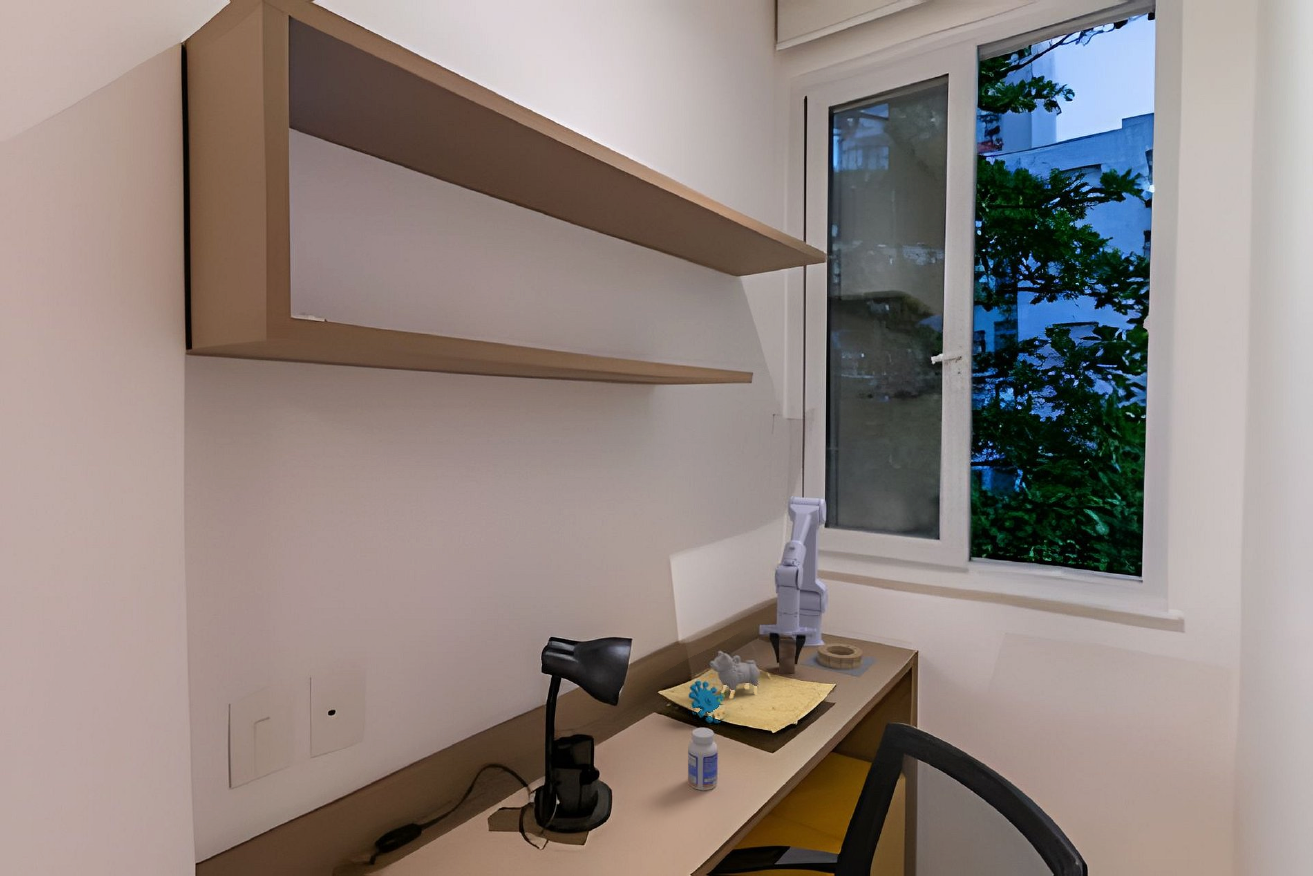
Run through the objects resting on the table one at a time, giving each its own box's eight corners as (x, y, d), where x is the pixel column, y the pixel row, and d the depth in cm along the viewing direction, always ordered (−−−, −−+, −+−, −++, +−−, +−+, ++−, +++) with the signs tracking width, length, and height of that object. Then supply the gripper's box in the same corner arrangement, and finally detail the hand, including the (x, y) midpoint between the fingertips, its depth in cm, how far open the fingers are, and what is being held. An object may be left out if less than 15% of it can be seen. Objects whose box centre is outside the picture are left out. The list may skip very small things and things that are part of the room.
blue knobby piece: (706, 724, 156) (685, 681, 162) (689, 737, 159) (669, 695, 164) (738, 715, 164) (716, 675, 169) (721, 729, 167) (701, 688, 172)
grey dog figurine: (705, 694, 177) (705, 650, 176) (750, 686, 182) (751, 644, 181) (715, 702, 172) (716, 658, 171) (762, 693, 177) (762, 650, 177)
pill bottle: (719, 778, 137) (719, 727, 137) (715, 793, 132) (716, 740, 131) (690, 774, 138) (691, 724, 138) (685, 789, 133) (686, 737, 133)
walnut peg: (778, 673, 190) (779, 643, 190) (779, 668, 194) (780, 638, 194) (794, 675, 189) (795, 644, 189) (794, 669, 193) (795, 639, 193)
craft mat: (822, 648, 210) (822, 647, 210) (878, 660, 201) (878, 658, 201) (800, 665, 196) (800, 663, 196) (859, 678, 188) (859, 676, 188)
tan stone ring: (813, 654, 204) (813, 643, 204) (853, 653, 205) (854, 643, 205) (825, 669, 193) (825, 658, 192) (868, 668, 193) (868, 657, 193)
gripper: (759, 613, 188) (758, 665, 189) (816, 617, 186) (815, 670, 186) (760, 606, 195) (759, 656, 196) (816, 609, 192) (815, 660, 193)
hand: (787, 662), depth 192 cm, fingers closed on walnut peg, 4 cm apart
